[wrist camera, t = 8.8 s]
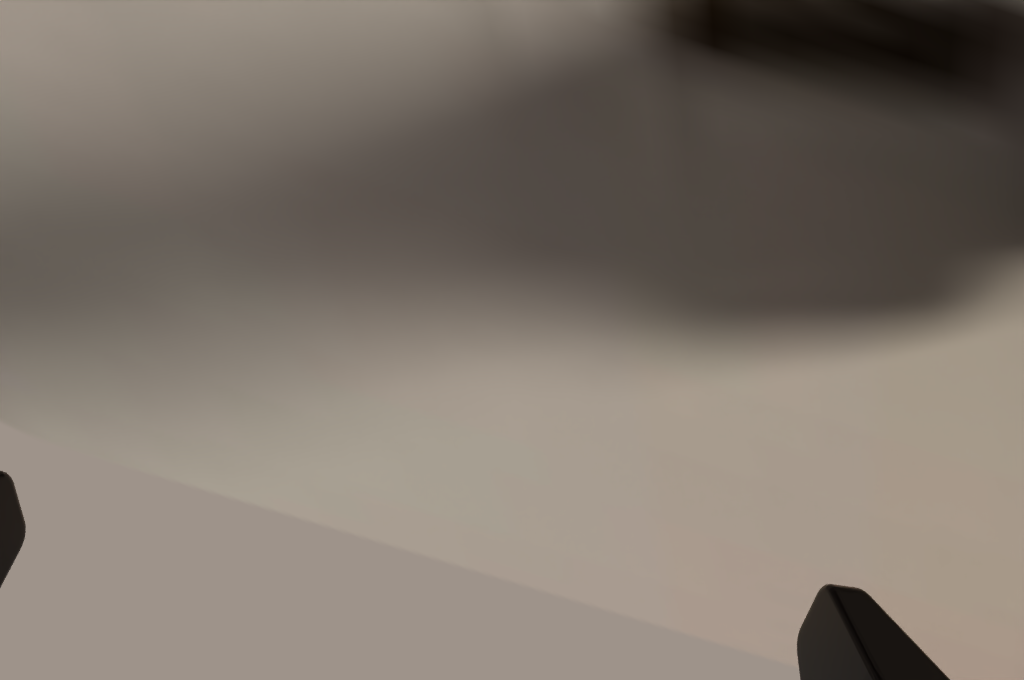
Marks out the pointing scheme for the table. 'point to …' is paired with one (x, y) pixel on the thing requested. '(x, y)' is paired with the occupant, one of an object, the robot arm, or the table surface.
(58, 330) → the table surface
